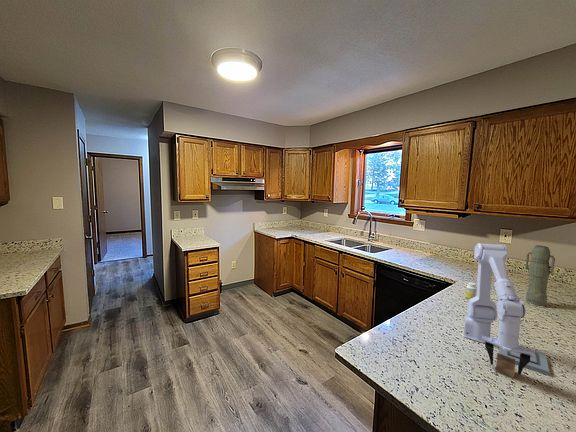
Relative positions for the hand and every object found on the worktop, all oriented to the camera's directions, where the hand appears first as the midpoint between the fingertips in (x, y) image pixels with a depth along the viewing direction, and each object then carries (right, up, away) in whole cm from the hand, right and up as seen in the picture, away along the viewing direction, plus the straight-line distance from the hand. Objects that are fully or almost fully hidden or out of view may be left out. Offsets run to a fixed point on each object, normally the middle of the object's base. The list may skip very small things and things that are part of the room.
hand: (505, 368), depth 93 cm
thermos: (+69, +3, +59) cm, 91 cm away
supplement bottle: (+34, +4, +65) cm, 73 cm away
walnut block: (0, -2, 0) cm, 2 cm away
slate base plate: (+14, -1, +8) cm, 16 cm away
